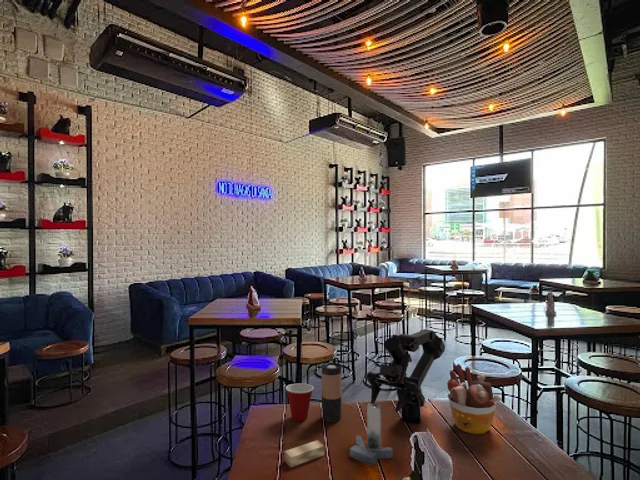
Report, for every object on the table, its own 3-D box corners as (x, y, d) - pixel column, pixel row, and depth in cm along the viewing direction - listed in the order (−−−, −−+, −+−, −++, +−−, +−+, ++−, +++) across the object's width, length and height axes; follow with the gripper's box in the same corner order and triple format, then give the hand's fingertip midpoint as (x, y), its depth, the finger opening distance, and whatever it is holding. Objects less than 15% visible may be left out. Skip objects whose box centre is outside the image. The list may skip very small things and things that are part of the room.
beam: (317, 449, 121) (317, 440, 121) (324, 455, 118) (324, 445, 118) (284, 461, 115) (284, 451, 115) (290, 467, 111) (290, 457, 111)
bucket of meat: (509, 439, 127) (508, 380, 127) (463, 442, 125) (462, 382, 125) (478, 412, 147) (477, 362, 147) (437, 415, 145) (437, 363, 145)
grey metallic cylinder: (379, 445, 123) (378, 403, 123) (383, 453, 119) (383, 409, 119) (365, 446, 122) (365, 404, 123) (369, 454, 118) (369, 410, 118)
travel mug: (340, 423, 138) (339, 369, 138) (319, 421, 140) (319, 368, 140) (342, 414, 146) (342, 363, 146) (323, 412, 147) (323, 361, 147)
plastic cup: (317, 413, 146) (317, 383, 146) (308, 426, 136) (307, 393, 136) (292, 409, 150) (292, 379, 150) (281, 422, 140) (280, 390, 140)
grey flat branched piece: (358, 441, 125) (358, 434, 125) (394, 456, 117) (394, 448, 117) (342, 453, 119) (342, 445, 119) (379, 469, 110) (379, 461, 110)
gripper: (368, 349, 136) (351, 389, 127) (416, 359, 124) (401, 404, 115) (379, 365, 142) (363, 404, 133) (426, 376, 130) (412, 420, 121)
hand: (383, 407), depth 126 cm, fingers open, 9 cm apart
